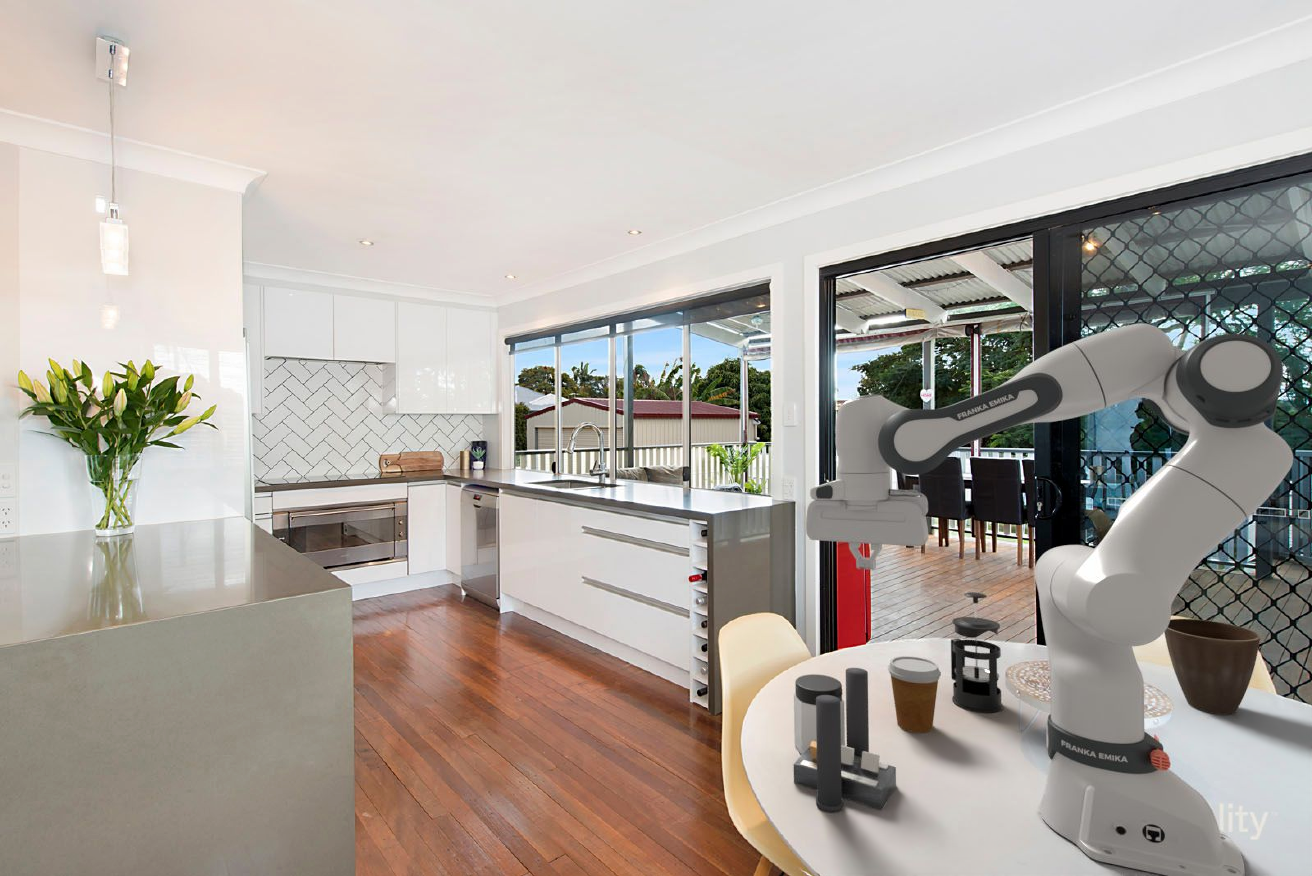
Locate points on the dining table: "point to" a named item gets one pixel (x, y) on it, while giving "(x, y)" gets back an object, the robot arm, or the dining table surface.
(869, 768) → the white block
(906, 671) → the disposable coffee cup
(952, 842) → the dining table surface
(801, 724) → the jar
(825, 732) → the cord post outer
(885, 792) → the breaker panel
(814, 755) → the tripped paddle
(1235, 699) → the plant pot
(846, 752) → the white block
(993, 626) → the french press
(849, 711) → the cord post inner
